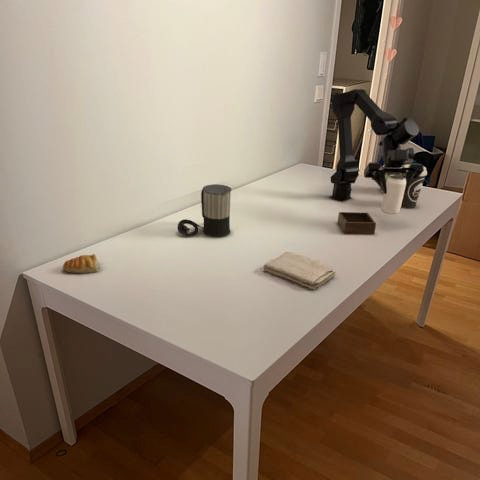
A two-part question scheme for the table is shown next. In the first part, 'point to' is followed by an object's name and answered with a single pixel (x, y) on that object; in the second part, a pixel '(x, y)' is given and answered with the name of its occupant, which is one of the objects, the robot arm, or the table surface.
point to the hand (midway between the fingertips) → (395, 193)
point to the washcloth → (300, 269)
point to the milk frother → (212, 212)
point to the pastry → (82, 264)
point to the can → (393, 194)
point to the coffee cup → (413, 190)
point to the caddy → (356, 223)
